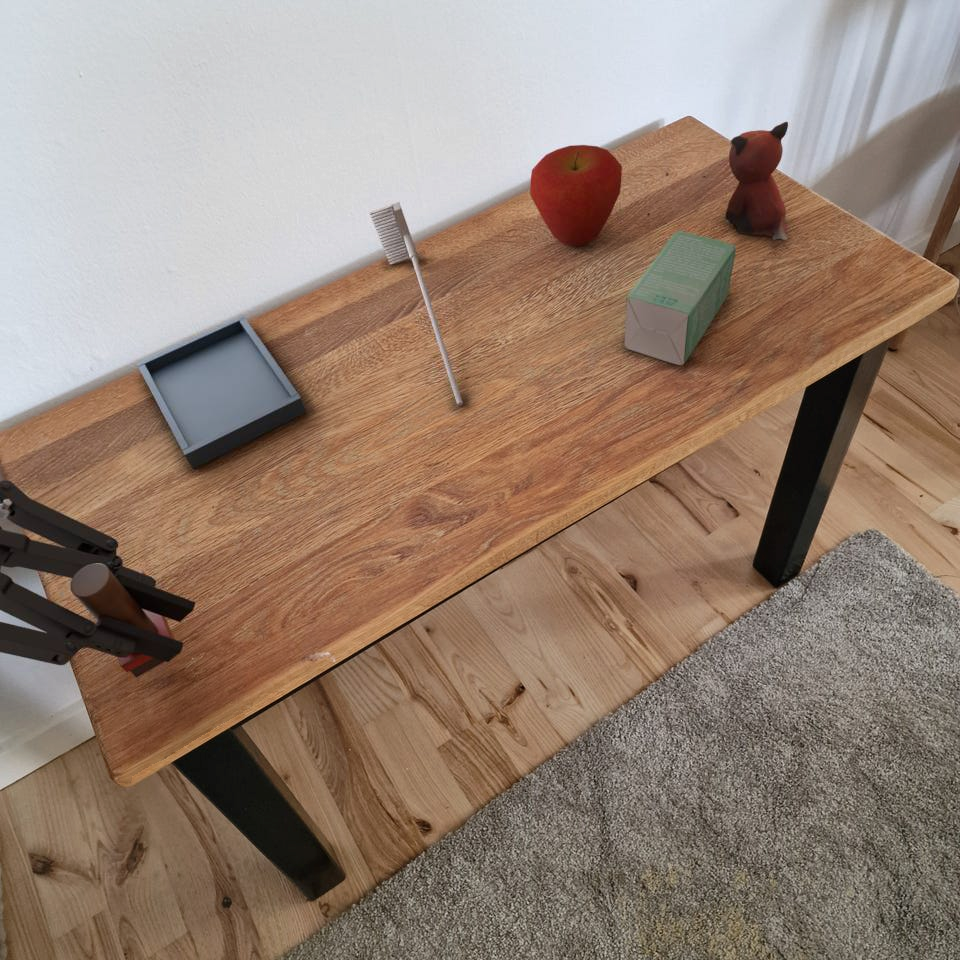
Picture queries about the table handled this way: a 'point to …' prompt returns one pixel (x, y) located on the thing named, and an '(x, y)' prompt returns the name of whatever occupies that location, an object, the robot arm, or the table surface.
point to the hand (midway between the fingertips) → (181, 631)
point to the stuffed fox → (757, 183)
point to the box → (678, 297)
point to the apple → (576, 191)
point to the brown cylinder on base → (118, 610)
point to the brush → (406, 251)
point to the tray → (220, 390)
